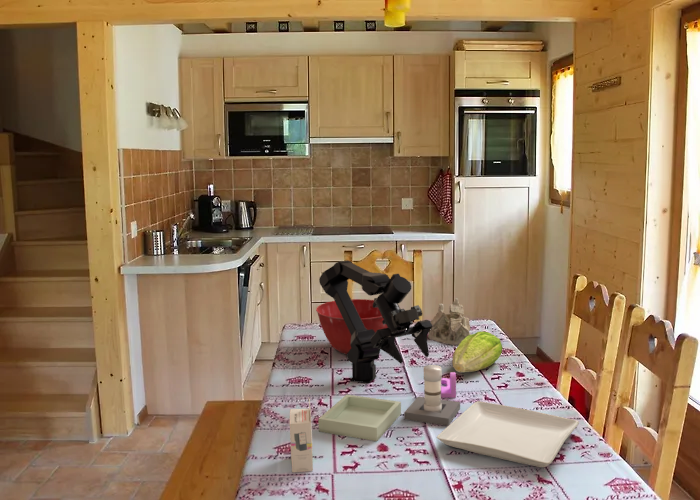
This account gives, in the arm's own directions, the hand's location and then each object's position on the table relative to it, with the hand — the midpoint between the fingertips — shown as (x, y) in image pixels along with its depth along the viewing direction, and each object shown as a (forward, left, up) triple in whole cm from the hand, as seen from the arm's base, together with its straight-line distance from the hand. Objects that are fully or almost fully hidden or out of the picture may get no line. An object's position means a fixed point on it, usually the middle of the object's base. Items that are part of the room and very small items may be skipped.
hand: (415, 359), depth 185 cm
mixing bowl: (-36, +42, -13) cm, 57 cm away
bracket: (+4, +14, -14) cm, 20 cm away
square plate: (+28, -14, -14) cm, 35 cm away
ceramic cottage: (-8, +66, -14) cm, 68 cm away
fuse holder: (+6, -5, -13) cm, 15 cm away
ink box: (-14, -43, -13) cm, 47 cm away
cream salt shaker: (+6, -5, -13) cm, 15 cm away
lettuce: (+8, +36, -13) cm, 39 cm away
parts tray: (-10, -17, -13) cm, 23 cm away
